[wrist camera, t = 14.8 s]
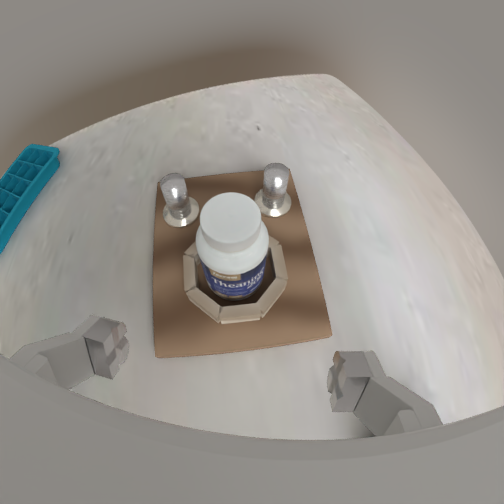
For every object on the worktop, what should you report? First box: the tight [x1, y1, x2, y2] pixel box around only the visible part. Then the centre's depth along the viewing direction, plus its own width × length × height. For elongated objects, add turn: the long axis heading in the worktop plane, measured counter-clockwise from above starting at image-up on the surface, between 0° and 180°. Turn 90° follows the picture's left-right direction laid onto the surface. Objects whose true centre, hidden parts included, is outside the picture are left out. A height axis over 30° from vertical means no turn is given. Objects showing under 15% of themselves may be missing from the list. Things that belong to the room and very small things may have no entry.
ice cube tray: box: [0, 144, 60, 254], centre depth 31 cm, size 12×20×3 cm, turn 160°
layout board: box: [153, 169, 332, 358], centre depth 27 cm, size 20×16×3 cm
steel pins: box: [160, 163, 291, 228], centre depth 28 cm, size 4×14×5 cm, turn 98°
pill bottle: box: [196, 192, 269, 301], centre depth 22 cm, size 5×5×10 cm
